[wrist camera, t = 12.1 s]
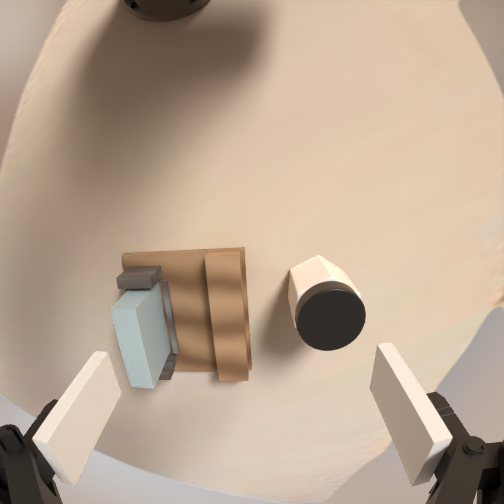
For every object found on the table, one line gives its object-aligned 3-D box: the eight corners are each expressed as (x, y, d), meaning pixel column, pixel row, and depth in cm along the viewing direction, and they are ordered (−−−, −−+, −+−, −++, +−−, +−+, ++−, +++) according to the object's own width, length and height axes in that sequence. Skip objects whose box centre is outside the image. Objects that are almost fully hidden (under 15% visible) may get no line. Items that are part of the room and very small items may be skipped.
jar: (274, 291, 47) (279, 331, 36) (305, 245, 45) (322, 273, 34) (322, 319, 48) (340, 363, 37) (354, 276, 47) (382, 311, 35)
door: (130, 280, 46) (103, 308, 36) (158, 280, 46) (135, 309, 36) (144, 349, 49) (124, 386, 39) (170, 350, 49) (154, 388, 39)
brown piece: (124, 253, 46) (107, 265, 40) (244, 247, 46) (242, 260, 40) (147, 365, 51) (136, 386, 45) (251, 365, 51) (251, 389, 45)
